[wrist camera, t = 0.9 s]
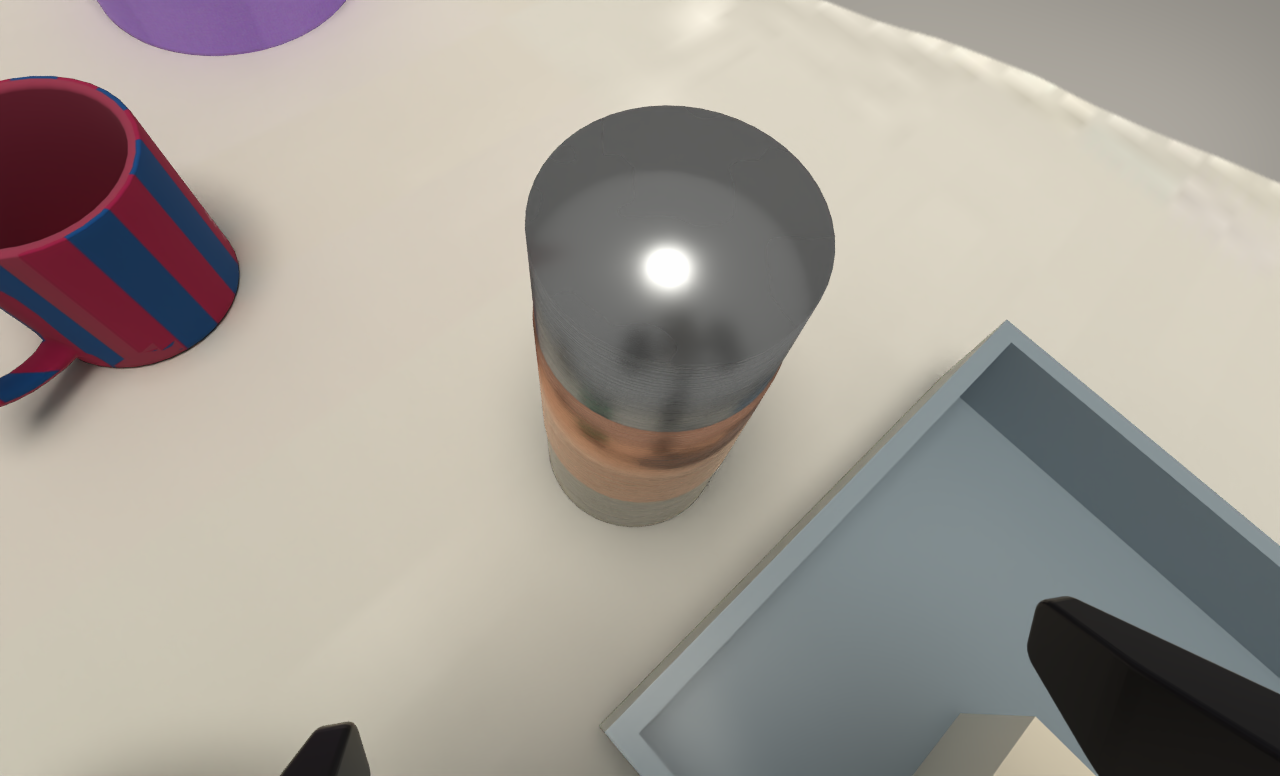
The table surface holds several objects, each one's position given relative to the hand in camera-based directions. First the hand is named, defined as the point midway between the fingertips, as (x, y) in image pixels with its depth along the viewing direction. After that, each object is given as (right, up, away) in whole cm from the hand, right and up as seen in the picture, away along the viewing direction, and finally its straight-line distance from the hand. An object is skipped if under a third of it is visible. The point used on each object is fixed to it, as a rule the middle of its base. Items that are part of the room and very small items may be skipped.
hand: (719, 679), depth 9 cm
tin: (-1, +2, +16) cm, 17 cm away
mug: (-20, +6, +17) cm, 27 cm away
